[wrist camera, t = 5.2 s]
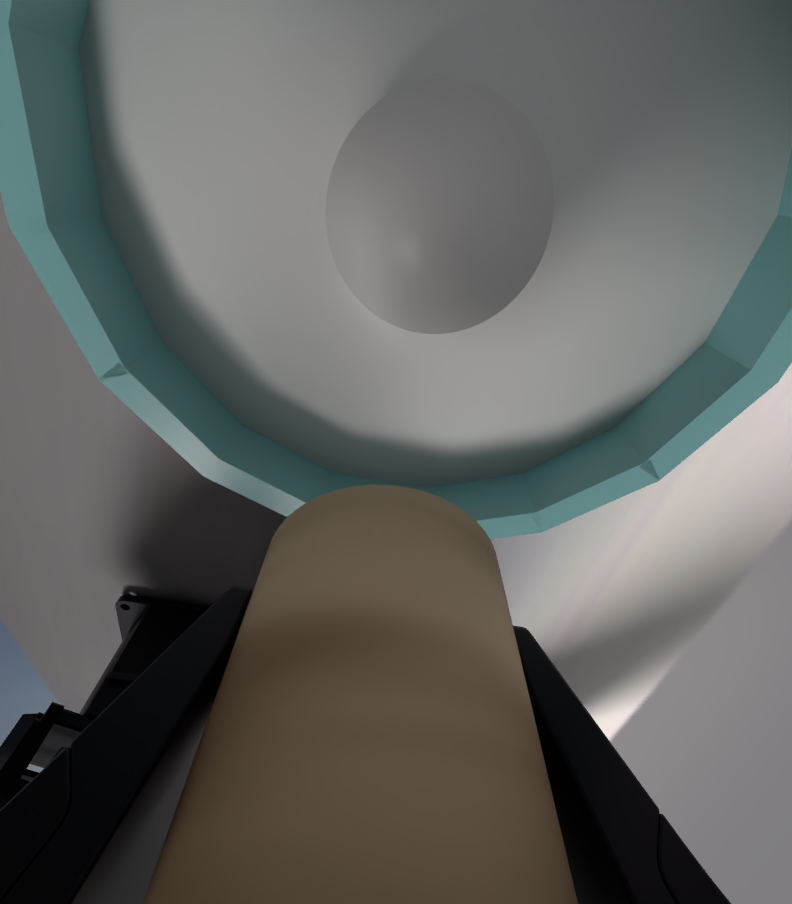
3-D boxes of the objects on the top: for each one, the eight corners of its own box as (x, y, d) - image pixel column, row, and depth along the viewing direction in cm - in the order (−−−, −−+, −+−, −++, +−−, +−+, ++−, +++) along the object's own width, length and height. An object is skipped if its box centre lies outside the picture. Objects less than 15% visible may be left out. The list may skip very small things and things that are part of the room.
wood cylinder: (461, 660, 11) (505, 1053, 6) (260, 632, 11) (138, 1033, 6) (532, 509, 9) (703, 972, 4) (273, 463, 8) (71, 923, 3)
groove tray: (612, 533, 22) (645, 591, 19) (111, 449, 20) (58, 499, 17) (1095, -274, 10) (1402, -470, 7) (-77, -695, 8) (-384, -1244, 5)
